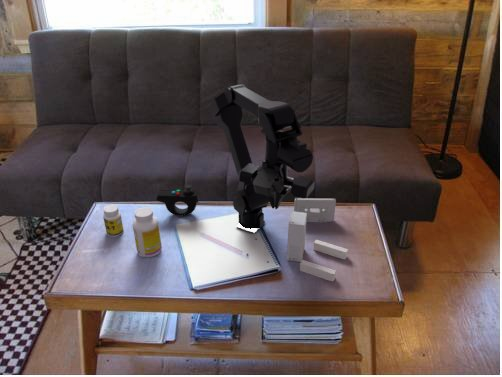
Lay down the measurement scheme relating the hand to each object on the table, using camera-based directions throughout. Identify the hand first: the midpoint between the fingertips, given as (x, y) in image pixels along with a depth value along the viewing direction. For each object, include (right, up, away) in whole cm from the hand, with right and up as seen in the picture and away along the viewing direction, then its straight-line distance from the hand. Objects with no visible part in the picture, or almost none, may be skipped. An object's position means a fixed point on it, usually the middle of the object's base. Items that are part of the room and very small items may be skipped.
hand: (275, 208), depth 121 cm
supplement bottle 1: (-45, -8, +13) cm, 48 cm away
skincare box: (+6, -13, +4) cm, 15 cm away
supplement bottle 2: (-34, -12, +6) cm, 37 cm away
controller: (-28, -3, +21) cm, 35 cm away
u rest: (+13, -15, +1) cm, 19 cm away
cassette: (+12, -5, +18) cm, 22 cm away
